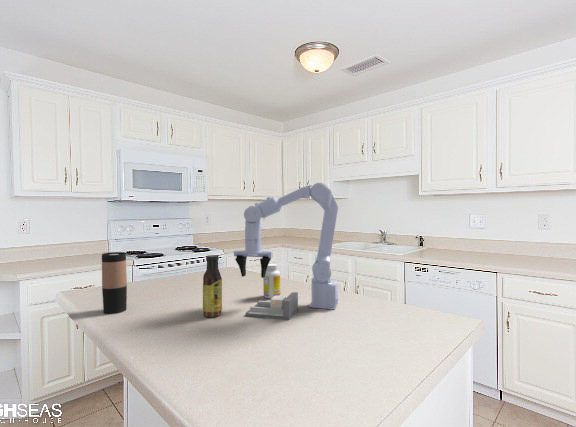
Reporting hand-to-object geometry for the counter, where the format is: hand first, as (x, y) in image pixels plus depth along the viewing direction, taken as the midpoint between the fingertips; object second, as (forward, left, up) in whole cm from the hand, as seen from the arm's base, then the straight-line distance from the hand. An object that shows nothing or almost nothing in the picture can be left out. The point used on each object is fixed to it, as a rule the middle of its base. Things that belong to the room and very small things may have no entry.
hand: (253, 276), depth 125 cm
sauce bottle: (+9, +14, -11) cm, 20 cm away
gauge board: (-10, +7, -10) cm, 16 cm away
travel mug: (+44, +19, -11) cm, 49 cm away
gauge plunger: (-12, +8, -9) cm, 17 cm away
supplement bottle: (-3, -12, -11) cm, 16 cm away
